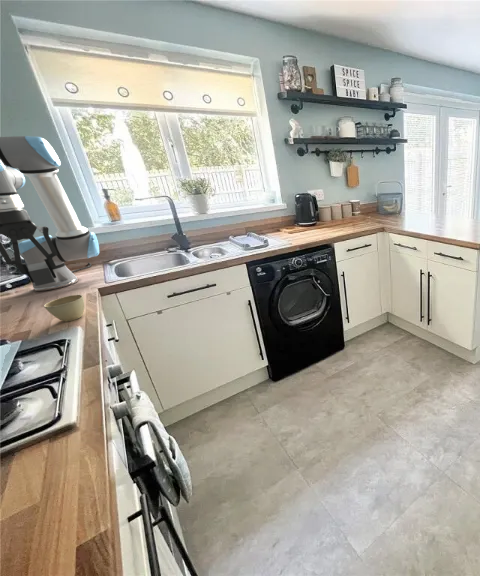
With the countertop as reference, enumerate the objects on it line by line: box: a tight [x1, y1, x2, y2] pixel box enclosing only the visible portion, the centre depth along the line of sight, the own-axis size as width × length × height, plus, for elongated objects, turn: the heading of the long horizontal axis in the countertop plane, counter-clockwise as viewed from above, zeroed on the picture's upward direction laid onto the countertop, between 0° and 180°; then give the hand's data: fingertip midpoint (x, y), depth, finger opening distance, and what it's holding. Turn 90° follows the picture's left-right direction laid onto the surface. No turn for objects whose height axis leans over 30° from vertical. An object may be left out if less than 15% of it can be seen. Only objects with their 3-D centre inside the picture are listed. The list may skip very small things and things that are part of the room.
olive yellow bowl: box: [43, 294, 85, 323], centre depth 110 cm, size 10×10×7 cm
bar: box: [26, 262, 55, 286], centre depth 105 cm, size 14×4×5 cm, turn 49°
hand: (44, 279), depth 106 cm, fingers closed on bar, 4 cm apart
